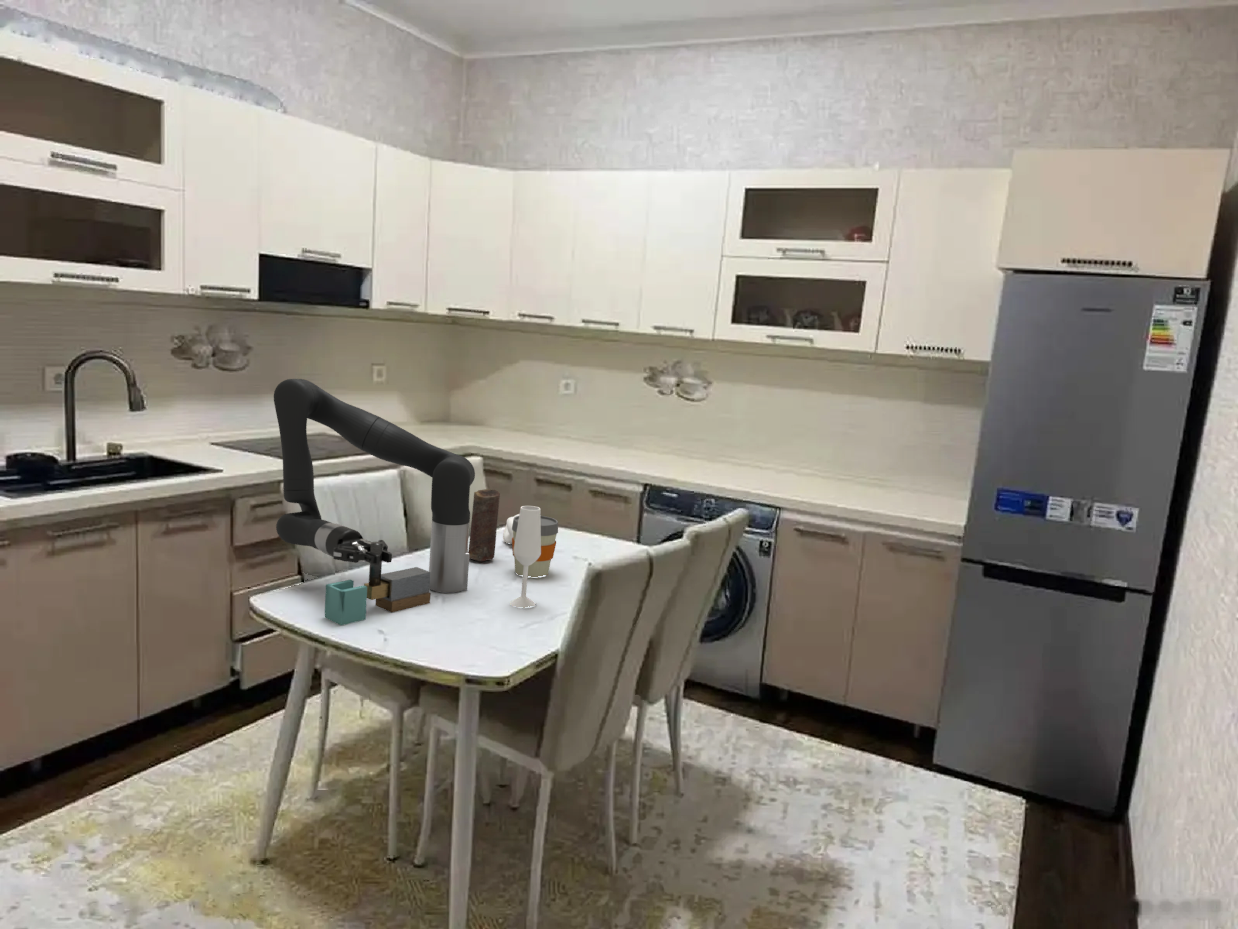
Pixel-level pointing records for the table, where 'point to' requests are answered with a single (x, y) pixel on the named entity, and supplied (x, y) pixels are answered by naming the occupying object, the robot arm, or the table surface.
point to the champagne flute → (527, 547)
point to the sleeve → (406, 589)
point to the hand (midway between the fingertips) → (384, 559)
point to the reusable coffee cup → (547, 547)
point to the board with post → (377, 576)
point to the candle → (484, 525)
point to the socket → (345, 602)
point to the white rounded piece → (509, 530)
